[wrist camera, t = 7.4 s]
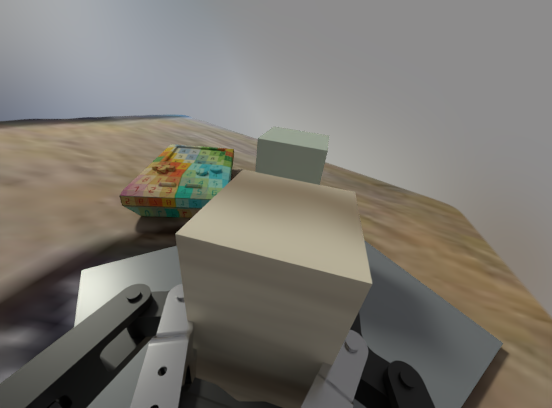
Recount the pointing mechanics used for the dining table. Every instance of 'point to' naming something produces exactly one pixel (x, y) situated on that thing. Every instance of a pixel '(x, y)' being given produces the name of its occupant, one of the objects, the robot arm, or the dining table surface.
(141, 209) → the puzzle game
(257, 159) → the sage block
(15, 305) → the dining table surface
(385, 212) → the dining table surface
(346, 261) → the birch block
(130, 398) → the board
